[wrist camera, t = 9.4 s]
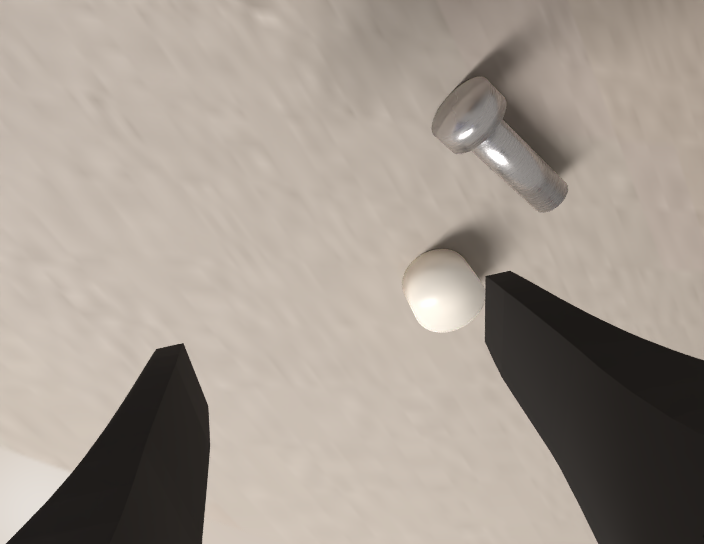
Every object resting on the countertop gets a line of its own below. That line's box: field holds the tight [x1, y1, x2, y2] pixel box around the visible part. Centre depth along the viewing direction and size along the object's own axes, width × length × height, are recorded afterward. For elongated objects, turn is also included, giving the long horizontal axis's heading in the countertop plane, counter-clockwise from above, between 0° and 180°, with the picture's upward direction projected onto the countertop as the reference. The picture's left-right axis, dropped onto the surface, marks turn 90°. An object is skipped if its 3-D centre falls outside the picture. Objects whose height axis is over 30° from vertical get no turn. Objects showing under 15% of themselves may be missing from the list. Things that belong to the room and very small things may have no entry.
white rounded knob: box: [402, 249, 485, 332], centre depth 24 cm, size 3×3×2 cm
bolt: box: [432, 76, 568, 212], centre depth 21 cm, size 6×3×3 cm, turn 49°
